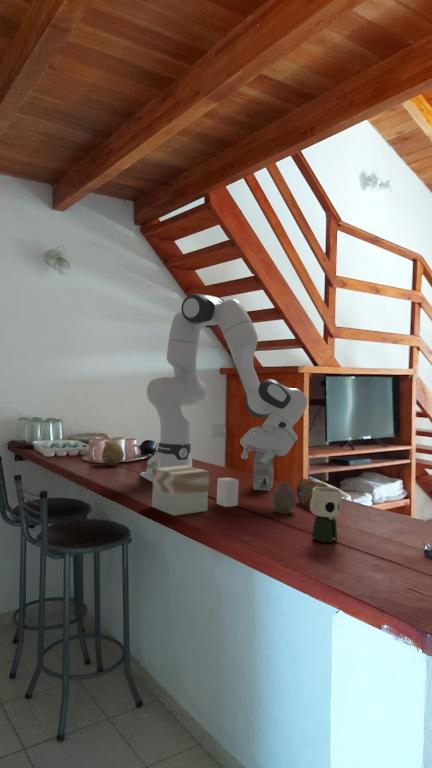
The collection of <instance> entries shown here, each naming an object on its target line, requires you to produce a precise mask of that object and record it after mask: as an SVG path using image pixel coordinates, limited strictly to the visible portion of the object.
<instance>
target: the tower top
mask: <svg viewBox="0 0 432 768" xmlns="http://www.w3.org/2000/svg"><path fill="white" fill-rule="evenodd" d="M209 482H210V471H208V470H205V469H202V468H198V467H193V466H192V467H191V466H187V465H182V466H171V467H160V468H154V469H153V482H152V489H153V488H155V489H158V490H161V491H163V492H166V493H169V494H172V495H175V496H177V495H184V494H192V493H200V492H207V491H208V492H209V484H210V483H209Z"/></svg>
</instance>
